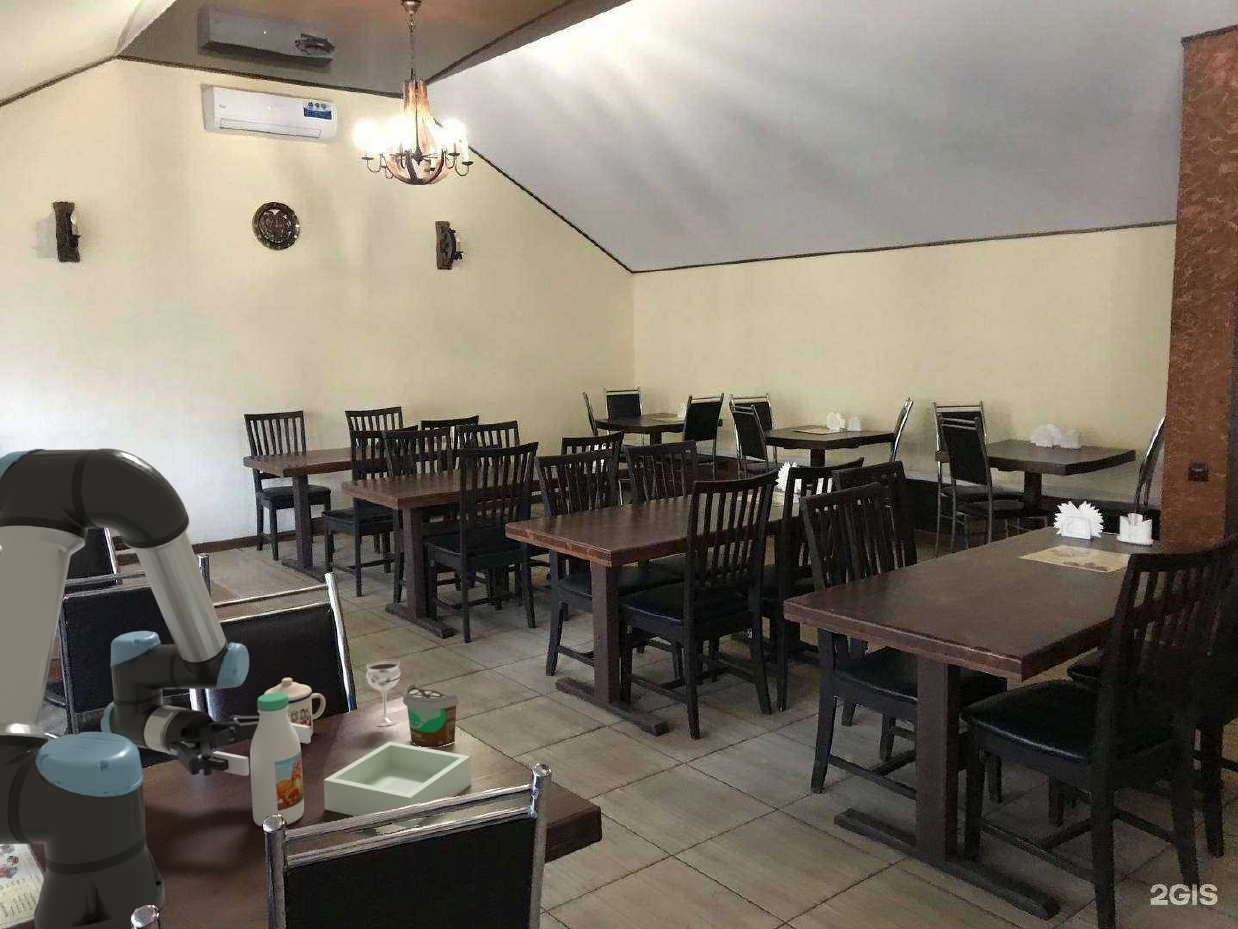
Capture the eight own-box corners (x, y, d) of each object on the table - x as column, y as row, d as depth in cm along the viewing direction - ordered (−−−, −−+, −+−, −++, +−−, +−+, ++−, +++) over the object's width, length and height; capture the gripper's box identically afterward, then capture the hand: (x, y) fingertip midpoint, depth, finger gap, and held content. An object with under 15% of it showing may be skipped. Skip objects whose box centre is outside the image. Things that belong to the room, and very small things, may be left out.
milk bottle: (258, 833, 147) (251, 708, 145) (248, 814, 154) (241, 694, 152) (309, 820, 151) (303, 698, 149) (297, 802, 158) (291, 685, 156)
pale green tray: (411, 828, 148) (410, 797, 148) (325, 809, 155) (323, 779, 155) (471, 784, 164) (470, 756, 163) (390, 768, 171) (389, 741, 170)
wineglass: (360, 725, 191) (358, 667, 190) (383, 714, 198) (380, 657, 196) (388, 730, 189) (385, 671, 187) (409, 719, 195) (407, 661, 193)
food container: (390, 742, 183) (388, 691, 182) (414, 731, 188) (412, 682, 187) (436, 756, 176) (434, 703, 175) (460, 745, 181) (458, 693, 180)
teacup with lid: (276, 750, 180) (273, 690, 178) (257, 737, 186) (254, 679, 185) (336, 733, 188) (333, 675, 186) (316, 720, 194) (313, 665, 193)
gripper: (239, 727, 172) (332, 744, 164) (117, 783, 150) (219, 806, 141) (236, 686, 172) (330, 701, 163) (114, 736, 149) (216, 757, 140)
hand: (279, 750), depth 152 cm, fingers open, 13 cm apart
